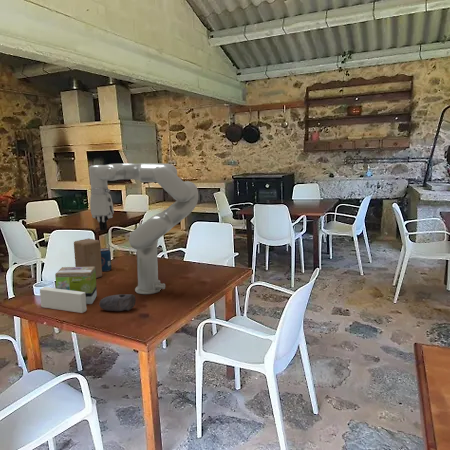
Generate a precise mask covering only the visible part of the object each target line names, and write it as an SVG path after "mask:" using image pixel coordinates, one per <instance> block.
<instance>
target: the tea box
mask: <svg viewBox="0 0 450 450" xmlns="http://www.w3.org/2000/svg"><path fill="white" fill-rule="evenodd" d="M55 288H56V289H64V290H72V291H80V292H85V294H86V305H93V303H94V301H95V300H96V297H97V296H98V293H97V291H98V290H97V278H96V271H95V267H76V266H62V267H61V268H59V270H58V271H57V272H55Z"/></svg>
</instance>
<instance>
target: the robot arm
mask: <svg viewBox="0 0 450 450" xmlns="http://www.w3.org/2000/svg"><path fill="white" fill-rule="evenodd" d="M88 170H89V181H90V190H91V191H90V192H91V195H90V199H89V202H90V203H89V207H90V214H91V218H92V219H96V220H97V222H98V224H99V231H101V232H102V231H107V230H108V224H107V223H108V220H109V219H112V218H113V217H114V216H113V215H114V214H115V211H114V210H115V209H114V204H113V200H112V196H111V194H110V192H111V189H110V188H109V186H108V181H109V182H110V181H111V182H112V181H113V182H114V181H117V180H118V181H119V180H136V181H139V182H142V183H157V184H158V185H159V186H160V187H161V188H162V189H163V191H165V192H167V194H168V195H169V196H170V197H172V199H174V200H175V202H173V203H172V204H171V205H169V206H168V207H167V208H165V209H164V210H163V211H161V212H159V213H156V214H155V215H153V216H151V217H149V218H148V219H147V220H146V221H145V222H143V223H142V224H141V225H139V226H138V227H137V228H135V229H134V230H132V231H131V233H130V234H129V237H128V242H129V245H130V247H132V249H134V250H136V265H137V266H136V267H137V286H136V287H135V288H134V291H135V292H136V294H139V295H153V294H157V293H159V292H161V291H162V290H165V289H166V283H161V280H160V279H159V270H158V269H159V268H158V244H159V243H158V240H160V238H161V237H163V236H165V234H167V233H168V232H170V231H171V229H173V228H174V227H175V226H177V225H178V224H179V223H181V221H182V220H184V219H186V217H188V216H189V215H190V214H191V213H192V212H193V211H194V209H195V208H196V207H197V205H198V201H199V190H198V188H197V186H196V184H195V183H194V182H192V181H189V180H187V181H183V179H181V178H180V177H179V176H178V170H177V168H176V167H175V165H173V164H171V163H158V162H157V163H156V162H155V163H153V162H152V163H147V162H145V163H144V162H143V163H142V162H141V163H109V164H95V165H94V164H92V165H90V166H89V168H88ZM161 289H162V290H161ZM160 290H161V291H160Z"/></svg>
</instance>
